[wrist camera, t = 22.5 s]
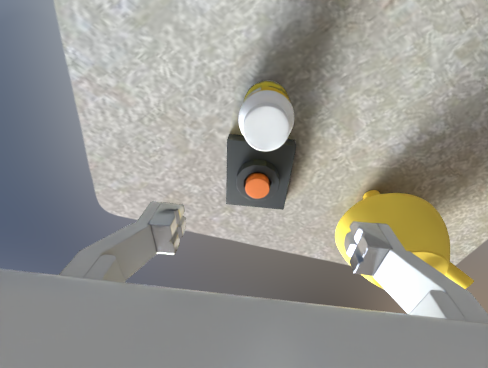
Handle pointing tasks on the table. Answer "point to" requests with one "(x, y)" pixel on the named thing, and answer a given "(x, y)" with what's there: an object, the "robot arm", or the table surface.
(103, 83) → the table surface
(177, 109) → the table surface
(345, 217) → the teapot
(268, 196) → the push button box
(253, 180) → the orange push button
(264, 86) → the pill bottle
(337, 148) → the table surface
